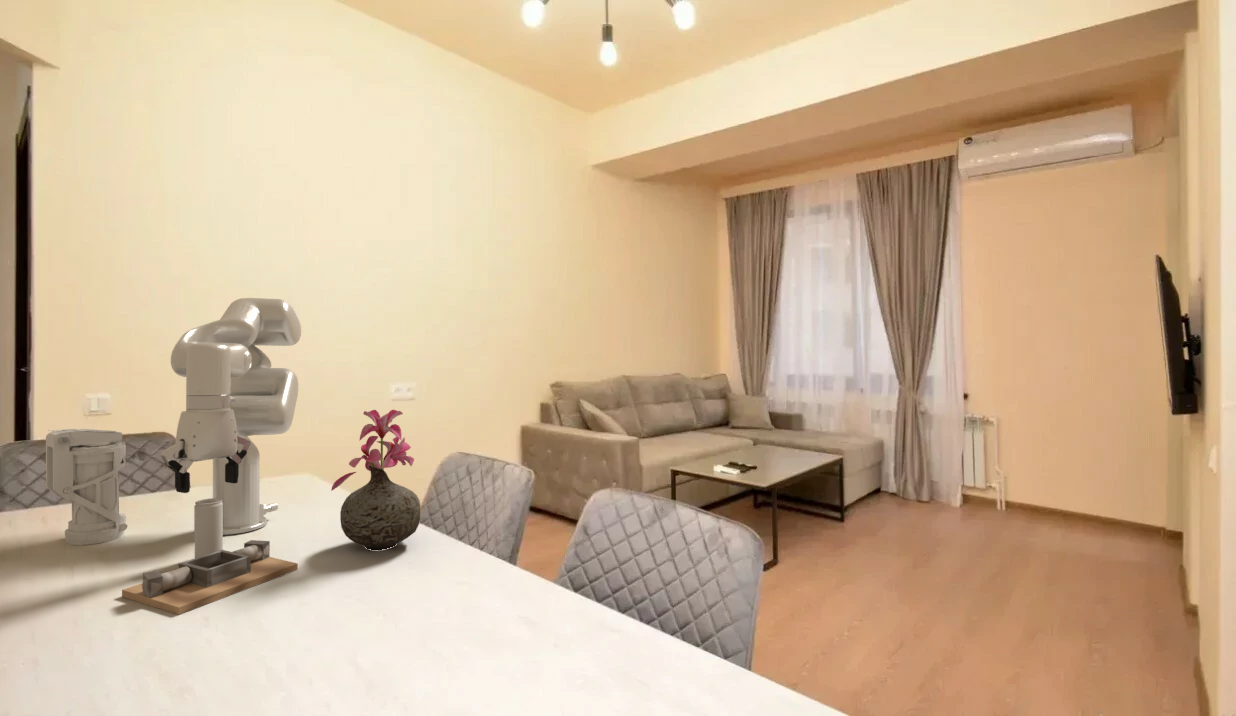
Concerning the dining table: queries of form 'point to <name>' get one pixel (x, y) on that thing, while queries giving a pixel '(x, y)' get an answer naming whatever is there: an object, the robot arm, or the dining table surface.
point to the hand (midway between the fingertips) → (208, 487)
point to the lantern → (87, 481)
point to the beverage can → (208, 526)
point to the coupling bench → (209, 578)
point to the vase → (380, 492)
